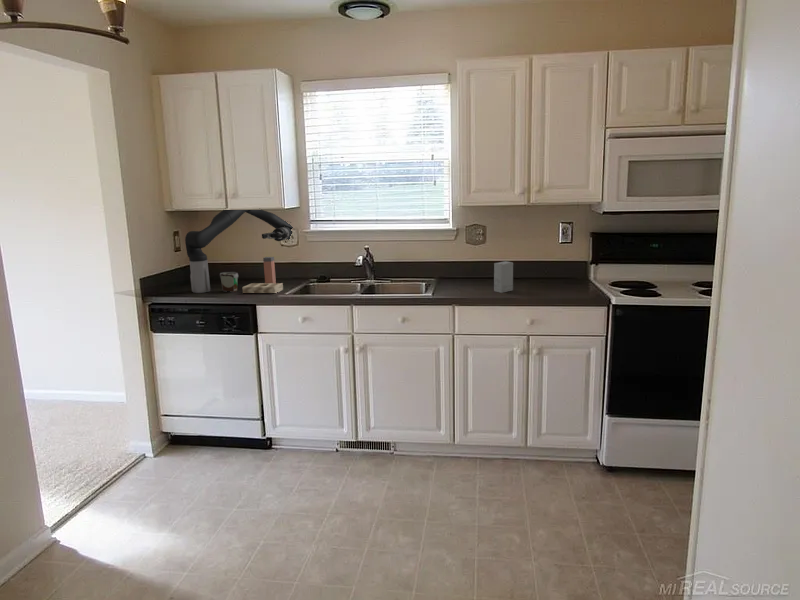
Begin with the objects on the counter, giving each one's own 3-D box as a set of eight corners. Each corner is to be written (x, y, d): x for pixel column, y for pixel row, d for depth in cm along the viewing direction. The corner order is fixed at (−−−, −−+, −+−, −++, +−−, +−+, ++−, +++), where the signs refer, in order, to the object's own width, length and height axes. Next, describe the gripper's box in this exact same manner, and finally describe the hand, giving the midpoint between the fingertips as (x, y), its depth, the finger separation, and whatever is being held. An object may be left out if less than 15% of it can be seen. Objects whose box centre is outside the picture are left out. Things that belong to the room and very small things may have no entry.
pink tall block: (265, 288, 315) (263, 258, 311) (268, 286, 319) (266, 256, 315) (273, 288, 314) (270, 257, 310) (276, 286, 318) (273, 256, 315)
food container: (244, 290, 309) (243, 272, 307) (235, 292, 304) (234, 274, 302) (229, 288, 316) (228, 271, 313) (221, 290, 311) (219, 272, 309)
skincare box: (505, 289, 291) (505, 260, 288) (513, 290, 286) (514, 262, 283) (493, 291, 287) (493, 262, 284) (501, 293, 282) (501, 263, 279)
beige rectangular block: (242, 293, 300) (242, 287, 299) (252, 289, 311) (251, 283, 311) (274, 293, 297) (274, 287, 296) (283, 289, 309) (282, 283, 308)
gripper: (268, 227, 331) (257, 230, 316) (291, 227, 329) (282, 229, 313) (269, 240, 333) (258, 243, 317) (292, 240, 331) (282, 243, 315)
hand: (270, 236), depth 315 cm, fingers open, 8 cm apart
